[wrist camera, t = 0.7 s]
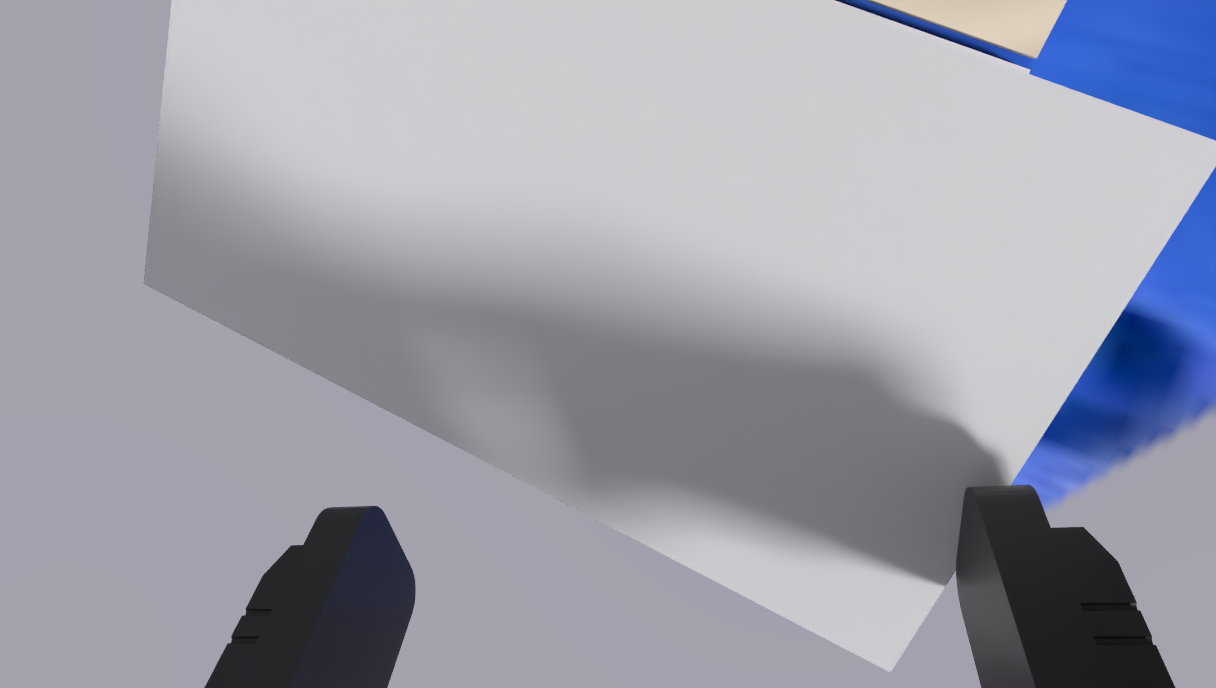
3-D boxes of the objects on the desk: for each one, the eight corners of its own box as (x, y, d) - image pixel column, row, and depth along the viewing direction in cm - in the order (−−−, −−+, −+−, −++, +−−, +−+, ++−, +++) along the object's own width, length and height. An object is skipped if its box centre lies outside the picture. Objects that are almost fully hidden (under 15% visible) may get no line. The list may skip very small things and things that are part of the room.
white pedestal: (675, -56, 33) (200, -290, 11) (1025, 70, 30) (1277, 70, 9) (599, 174, 37) (139, 322, 15) (903, 304, 34) (865, 709, 12)
